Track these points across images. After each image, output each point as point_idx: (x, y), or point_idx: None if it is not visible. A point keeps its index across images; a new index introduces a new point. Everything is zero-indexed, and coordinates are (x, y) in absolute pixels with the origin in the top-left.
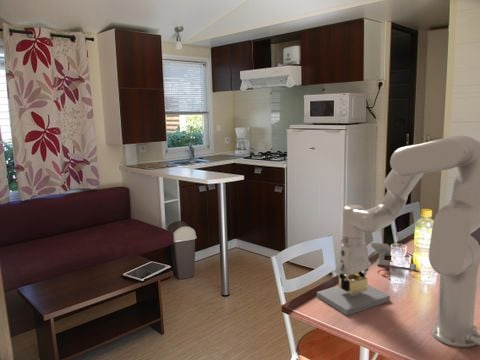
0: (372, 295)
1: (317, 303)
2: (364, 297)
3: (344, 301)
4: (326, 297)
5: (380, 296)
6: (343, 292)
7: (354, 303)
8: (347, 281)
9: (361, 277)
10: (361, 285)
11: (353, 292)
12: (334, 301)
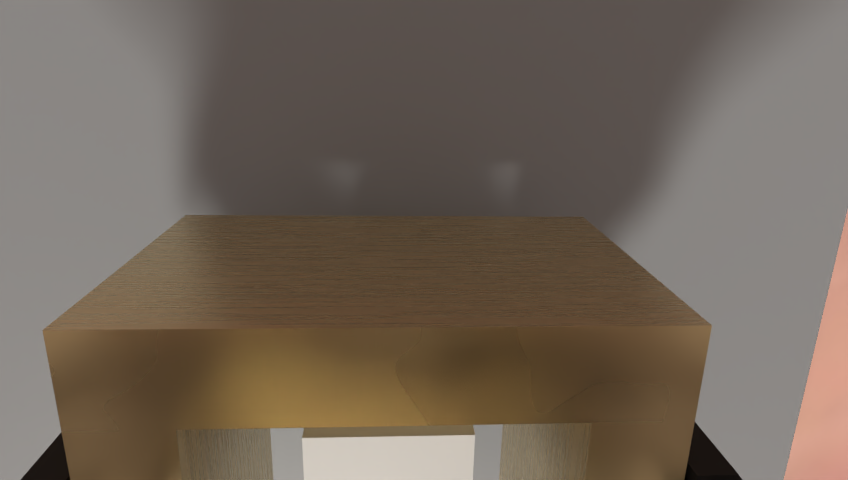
0: (138, 131)
1: (833, 431)
2: (316, 152)
3: (691, 218)
4: (785, 439)
5: (25, 17)
6: (477, 440)
7: (621, 77)
8: (724, 465)
9: (182, 466)
10: (335, 262)
11: (563, 229)
12: (802, 295)
